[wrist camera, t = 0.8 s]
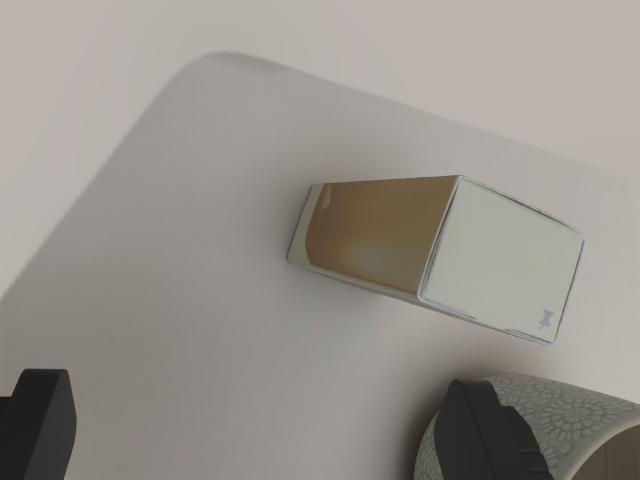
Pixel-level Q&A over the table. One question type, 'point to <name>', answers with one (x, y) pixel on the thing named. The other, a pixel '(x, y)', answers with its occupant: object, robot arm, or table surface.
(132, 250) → the table surface
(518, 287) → the cosmetic box
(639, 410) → the planter
